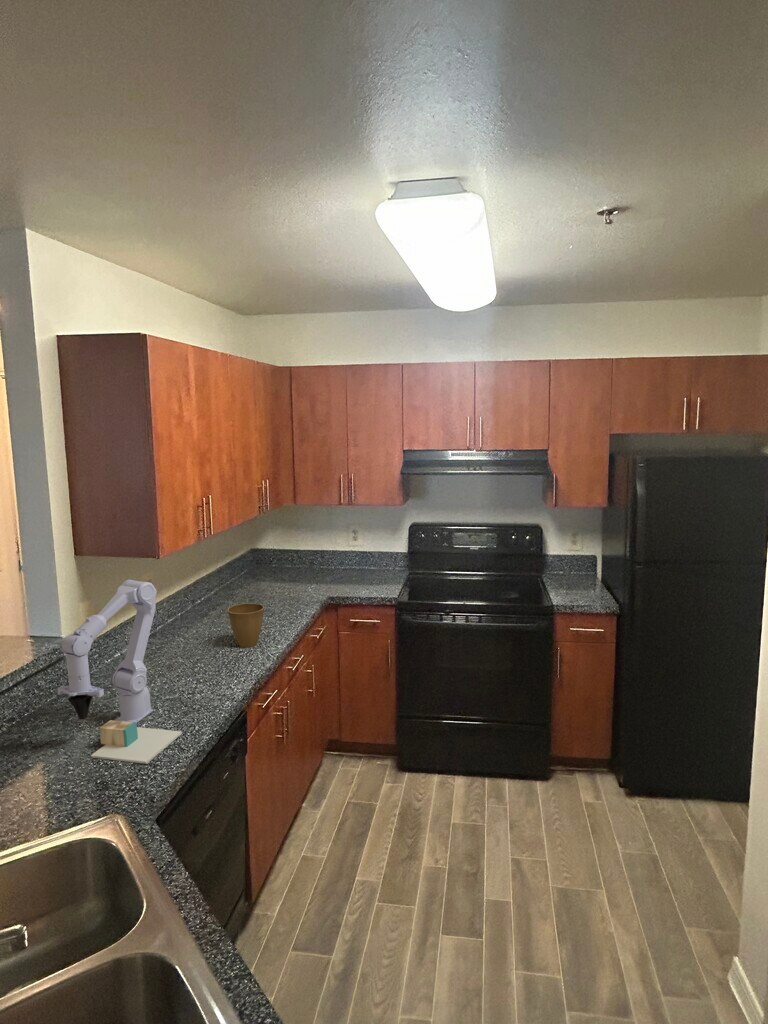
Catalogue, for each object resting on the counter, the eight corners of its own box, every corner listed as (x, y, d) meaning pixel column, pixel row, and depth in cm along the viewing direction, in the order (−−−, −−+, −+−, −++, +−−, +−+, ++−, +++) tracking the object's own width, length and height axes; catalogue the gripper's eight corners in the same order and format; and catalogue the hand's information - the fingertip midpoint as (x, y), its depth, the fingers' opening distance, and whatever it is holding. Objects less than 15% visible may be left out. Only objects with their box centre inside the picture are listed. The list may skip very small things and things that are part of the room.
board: (130, 728, 203) (130, 726, 203) (182, 733, 199) (181, 731, 199) (90, 757, 186) (90, 755, 186) (146, 763, 181) (146, 761, 181)
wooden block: (110, 720, 197) (136, 722, 194) (111, 735, 197) (138, 738, 195) (99, 727, 192) (125, 730, 190) (100, 743, 193) (127, 746, 190)
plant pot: (223, 650, 271) (221, 612, 269) (240, 638, 285) (237, 602, 283) (257, 651, 268) (254, 613, 265) (271, 639, 282) (269, 603, 280)
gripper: (48, 677, 192) (53, 721, 194) (90, 681, 188) (95, 725, 190) (65, 668, 199) (69, 711, 201) (106, 671, 195) (111, 715, 197)
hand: (83, 717), depth 196 cm, fingers closed
